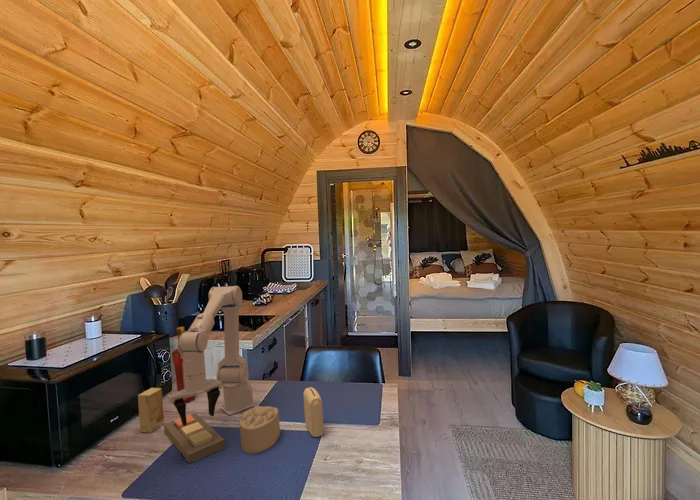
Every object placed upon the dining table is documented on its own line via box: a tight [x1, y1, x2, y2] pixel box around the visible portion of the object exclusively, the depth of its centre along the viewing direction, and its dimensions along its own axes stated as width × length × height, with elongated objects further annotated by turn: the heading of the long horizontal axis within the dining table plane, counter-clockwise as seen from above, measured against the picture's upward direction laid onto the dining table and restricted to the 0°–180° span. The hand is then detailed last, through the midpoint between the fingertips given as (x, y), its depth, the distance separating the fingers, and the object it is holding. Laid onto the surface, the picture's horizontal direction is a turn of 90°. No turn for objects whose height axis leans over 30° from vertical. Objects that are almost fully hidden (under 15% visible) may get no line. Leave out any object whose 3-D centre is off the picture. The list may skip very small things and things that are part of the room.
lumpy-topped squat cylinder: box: [239, 405, 281, 455], centre depth 110 cm, size 10×13×9 cm
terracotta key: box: [173, 414, 196, 430], centre depth 118 cm, size 5×5×2 cm
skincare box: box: [137, 387, 165, 433], centre depth 122 cm, size 6×4×12 cm
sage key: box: [189, 430, 212, 448], centre depth 108 cm, size 5×5×2 cm
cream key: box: [181, 422, 204, 439], centre depth 113 cm, size 5×5×2 cm
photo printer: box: [302, 386, 325, 438], centre depth 114 cm, size 10×4×12 cm, turn 20°
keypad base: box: [163, 412, 226, 464], centre depth 113 cm, size 10×24×2 cm, turn 41°
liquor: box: [171, 326, 196, 403], centre depth 142 cm, size 7×7×28 cm
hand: (198, 419), depth 107 cm, fingers open, 7 cm apart
